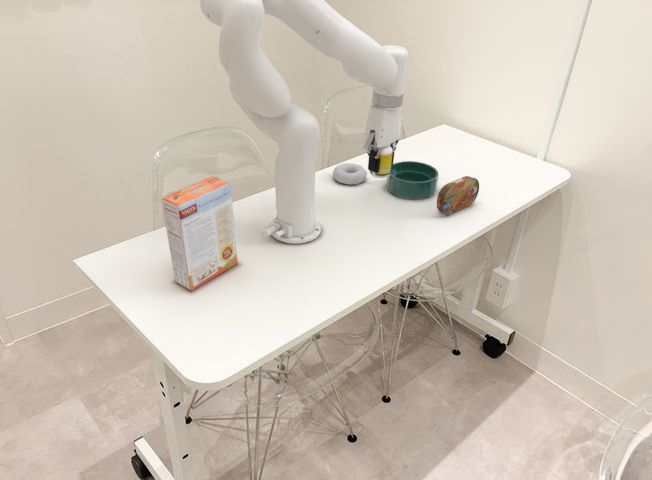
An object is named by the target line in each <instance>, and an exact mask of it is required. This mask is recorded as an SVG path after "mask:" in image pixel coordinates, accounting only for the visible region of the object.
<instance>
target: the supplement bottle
mask: <svg viewBox="0 0 652 480" xmlns="http://www.w3.org/2000/svg"><path fill="white" fill-rule="evenodd" d="M375 145H377V143H375ZM390 145H391V143H390V144H388V145H386V146H384V147H382V148H381V152H380V155H379V158H380V167H379V172H378V173H375V172H372V171H370V170H369V175H370V176H371V177H373V178H378V179H385V178H386V179H387V177H388V176H389V175H390V171H391V162H392V153H393V152H394V151H393V149H392V147H390ZM373 150H374V151H375V152H376V150H377V148H375V147H374V149H373Z"/></svg>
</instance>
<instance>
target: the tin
mask: <svg viewBox="0 0 652 480" xmlns="http://www.w3.org/2000/svg"><path fill="white" fill-rule="evenodd" d="M479 191H480V182H479V180H478V178H475V177H472V176H469V175H464V176H462V177H459V178H457V179H455V180H453V181H450V182H447V183H446V184H444V185H443V186H442V187H441V188H440V190H439V191H438V194H437V198H436V209H437V210H438V211H439V212H440V213H442V214H444V215H446V216H452V215H454V214H456V213H458V212H460V211H462V210H465V209H466V208H468V207H470V206H472V205H473V204H474V203H475V201H476V199H477V198H478V195H479Z"/></svg>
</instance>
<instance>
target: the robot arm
mask: <svg viewBox="0 0 652 480" xmlns="http://www.w3.org/2000/svg"><path fill="white" fill-rule="evenodd" d="M199 7H200V10H201V12H202V14H203V16H204V17H205V18H206V19H207V20H208V21H209V22H210V23H212V24H214V25H216V26H219V27H220V28H221V29H220V33H219V39H218V57H219V61H220V63H221V66H222V68H223V70H224V71H225V73H226V74H227V75H228V77H229V91H230V93H231V96H232V98H233V100H234V101H235V102H236V104H237V105H238V106H239V108H240V109H241V110H242V111H243V113H244V114H245V115H246V116H247V118H248V119H250V121H251V122H252V123H253V124H254V126H255V127H256V128H257V129H258V130H259V131H260V132H261V133H262V134H263V135H265V136H267V137H268V138H270V139H271V140H272V141H274V142H275V143H277V144H278V151H277V155H276V157H275V161H274V182H275V183H274V184H275V186H274V187H275V216H276V217H274V218H273V219H272V223H271V224H270V226H269V227H266V228H265V229H263V230H262V236H264V237H265V238H269V237H271V236H272V237H273V238H274V239H275V240H276V241H279V242H282V243H284V244H285V243H286V244H292V245H294V244H295V245H300V244H305V243H309V242H312V241H313V240H316V239H317V238H318V237H319V236H320V234H321V231H322V230H321V229H322V228H321V225H320V222H318V221H317V220H316V219H315V218H316V216H315V215H316V211H315V210H316V160H317V151H318V147H319V142H320V137H321V128H320V124H319V122H318V120H317V118H316V117H315V116H314V115H313V114H312V113H311V112H310V111H308V110H306V109H305V108H303V107H301V106H299V105H297V104H295V103H293V102H292V94H291V91H290V88H289V86H288V84H287V82H286V80H285V79H284V78H283V77H282V75H281V74H280V73H279V72H278V71H277V69H276V67H275V66H274V65H273V64H272V62H271V61H270V59H268V56H267V55H266V52H264V50H263V48H262V45H261V33H262V29H263V26H264V22H265V15H269V16H271V17H275V18H276V19H278V20H279V21H281V22H282V23H284V24H285V25H286V26H287V27H288V28H289V29H291V30H292V31H294V32H295V33H296V34H297V35H298V36H300V37H301V38H302V39H303V40H304V41H305V42H307V43H308V44H309V45H310V46H311V47H313V48H314V49H316V50H317V51H319V52H320V53H322V54H323V55H326V56H327V57H329V58H332V59H333V60H336V61H337V62H340V63H341V66H342V70H343V71H344V74H346V75H347V77H349V78H350V79H352V80H354V81H357V82H359V83H362V84H364V85H367V86H369V87H371V88H372V98H371V105H370V107H369V110H368V113H367V118H366V124H365V132H364V138H363V139H364V141H363V142H364V146H363V150H364V151H365V152H366V153H367V157H368V161H367V162H368V163H367V170H368V171H369V172H370V171H372V172H375V173H378V172H379V167H380V158H379V155H380V152H381V148H382V147H384V146H386V145H388V144H390V143H391V145H390V147H392V149H393V153H392V162H391V166H393V164H394V160H395V152H396V150H397V145H398V144H399V140H400V139H401V138H402V136H403V133H402V126H403V105H404V97H405V88H406V79H407V71H408V63H409V51H408V49H407V48H406V47H403V46H401V45H395V44H385V45H381V44H380V43H379V42H377V41H376V40H375V39H373V38H372V37H371V36H369V35H368V34H366V33H365V32H364V31H363V30H361V29H360V28H358V27H357V26H356V25H354V23H352V22H351V21H349V20H348V19H346V18H345V17H344V16H342V15H341V14H340V13H339V12H337V11H336V9H334V7H332V6H331V5H330V4H329V3H328V2H326V0H199ZM375 143H377V145H376V144H375ZM374 147H375V148H377V150H376V152H375V151H374V150H373V149H374Z"/></svg>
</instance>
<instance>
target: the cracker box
mask: <svg viewBox="0 0 652 480" xmlns="http://www.w3.org/2000/svg"><path fill="white" fill-rule="evenodd" d="M161 206H162V212H163V217H164V223H165V229H166V235H167V240H168V247H169V253H170V257H171V259H170V260H171V264H172V265H171V266H172V270H173V276H174V281H175V283H177V284H178V285H181V287H183V288H185V289H187V290H189V291H190V292H193V291H194V290H197V289H198V288H199V287H201V286H203V285H204V284H206V283H208V282H210V281H211V280H213V279H215V278H216V277H218V276H220V275H221V274H223V273H225V272H226V271H228V270H230V269H231V268H233V267H236V266H237V265H238V254H237V253H238V251H237V240H236V231H235V219H234V217H235V216H234V209H233V196H232V185H231V182H230V181H227V180H224V179H222V178H219V177H217V176H215V175H212V176H209V177H207V178H204V179H202V180H200V181H198V182H196V183H193V184H191V185H189V186H186V187H184V188H182V189H179V190H177V191H175V192H172V193H170V194H168V195H166V196H163V197H162V198H161Z"/></svg>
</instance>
